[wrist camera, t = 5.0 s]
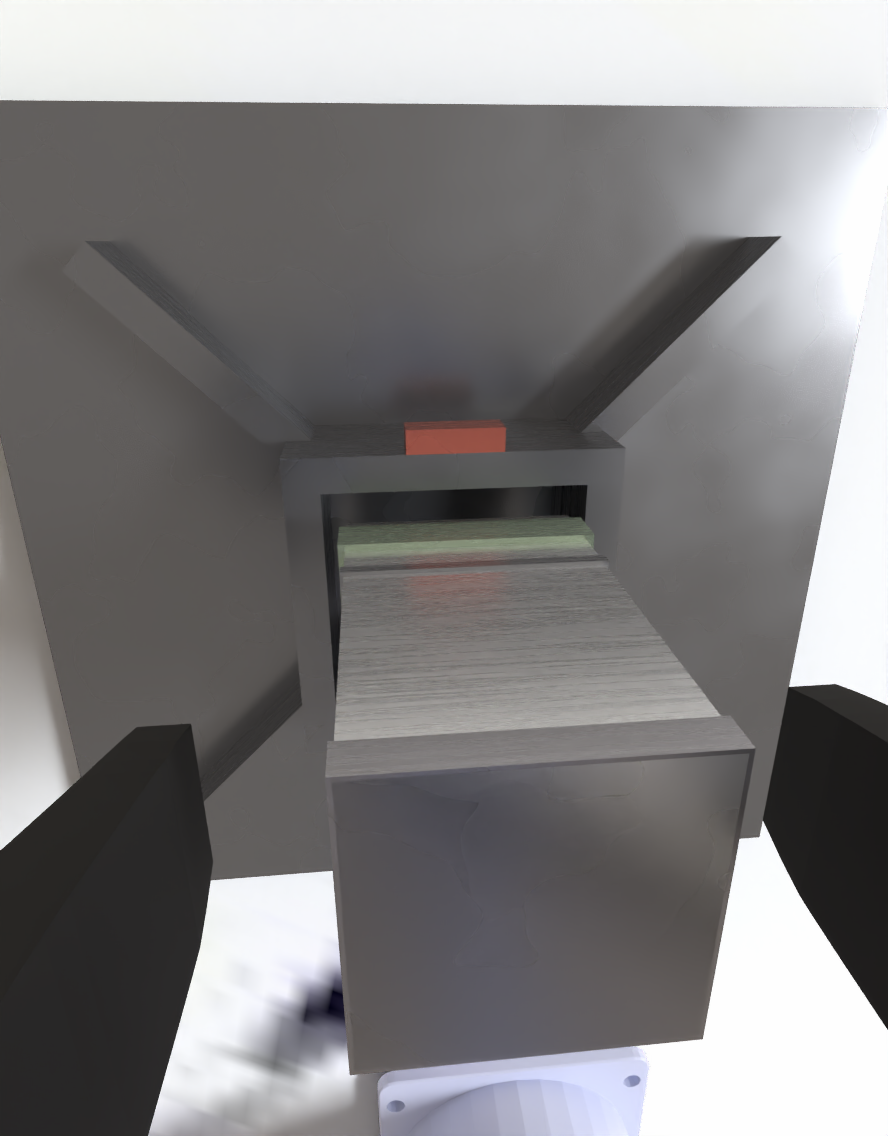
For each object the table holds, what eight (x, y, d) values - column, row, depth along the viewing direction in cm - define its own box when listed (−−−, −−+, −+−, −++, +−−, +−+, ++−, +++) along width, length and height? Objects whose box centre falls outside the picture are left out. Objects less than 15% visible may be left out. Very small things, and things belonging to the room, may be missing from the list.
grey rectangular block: (561, 707, 14) (706, 1041, 8) (352, 720, 14) (345, 1079, 8) (573, 508, 12) (762, 742, 7) (339, 518, 12) (319, 772, 6)
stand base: (748, 820, 20) (809, 913, 17) (114, 869, 19) (71, 978, 16) (880, 113, 14) (1011, 80, 11) (-60, 106, 12) (-181, 65, 10)
